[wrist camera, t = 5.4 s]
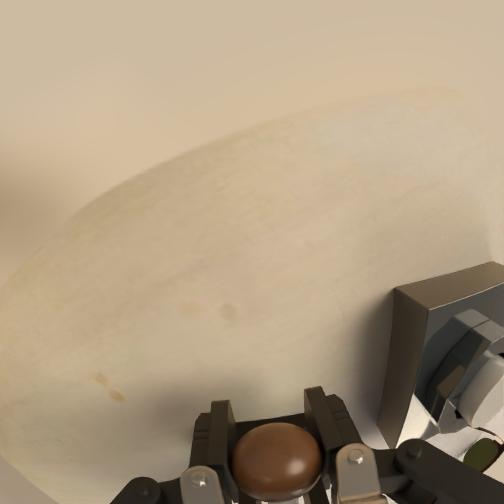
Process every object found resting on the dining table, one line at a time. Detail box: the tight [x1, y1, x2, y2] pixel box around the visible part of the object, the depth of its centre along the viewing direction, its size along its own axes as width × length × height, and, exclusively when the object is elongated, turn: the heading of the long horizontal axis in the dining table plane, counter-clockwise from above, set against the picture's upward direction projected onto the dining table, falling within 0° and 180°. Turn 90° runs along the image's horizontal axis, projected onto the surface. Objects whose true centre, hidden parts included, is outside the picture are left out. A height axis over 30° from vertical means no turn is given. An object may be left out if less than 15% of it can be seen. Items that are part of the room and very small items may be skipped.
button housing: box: [377, 261, 504, 449], centre depth 12 cm, size 11×9×5 cm
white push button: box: [456, 355, 504, 428], centre depth 9 cm, size 4×4×2 cm
